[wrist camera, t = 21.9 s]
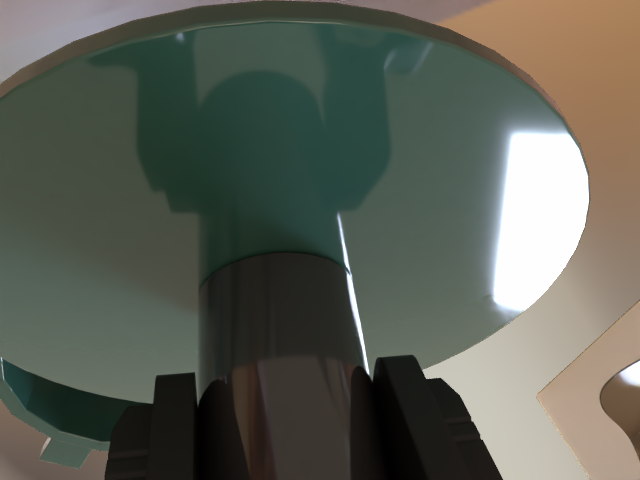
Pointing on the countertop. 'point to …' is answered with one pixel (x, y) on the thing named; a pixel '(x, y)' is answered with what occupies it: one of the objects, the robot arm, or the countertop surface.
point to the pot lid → (275, 217)
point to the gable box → (602, 402)
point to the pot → (61, 414)
